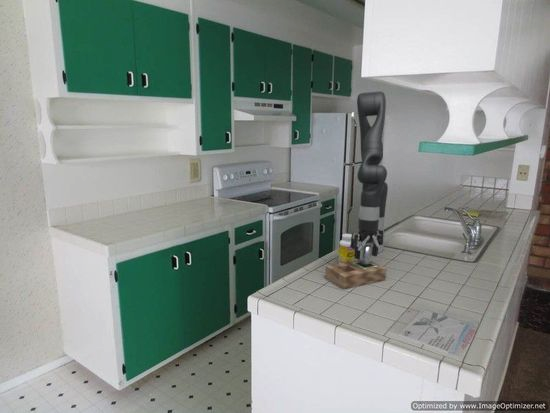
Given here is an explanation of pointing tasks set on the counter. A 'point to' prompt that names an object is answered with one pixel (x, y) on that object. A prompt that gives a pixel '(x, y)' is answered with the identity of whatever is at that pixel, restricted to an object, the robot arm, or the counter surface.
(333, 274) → the bore block
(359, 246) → the robot arm
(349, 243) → the supplement bottle
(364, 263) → the pin
